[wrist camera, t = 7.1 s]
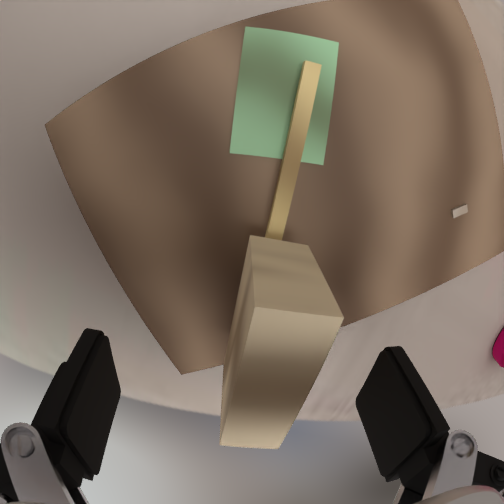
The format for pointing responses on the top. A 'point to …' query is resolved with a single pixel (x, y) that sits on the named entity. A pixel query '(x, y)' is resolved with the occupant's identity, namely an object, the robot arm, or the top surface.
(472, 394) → the top surface
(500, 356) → the pepper mill
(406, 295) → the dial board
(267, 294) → the wooden mallet
